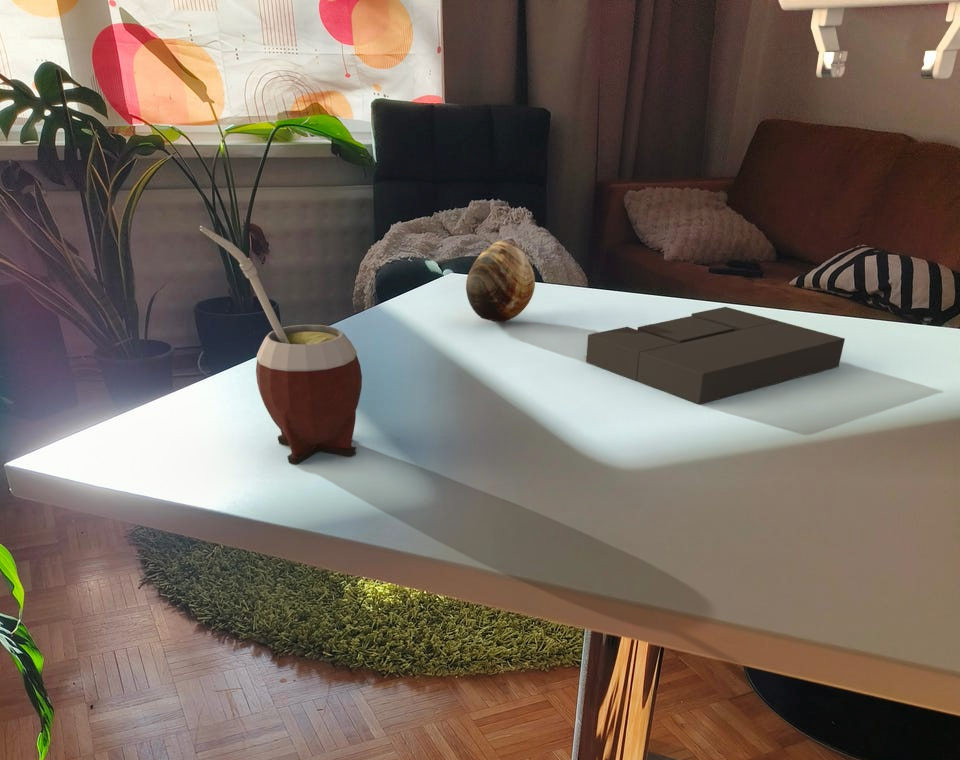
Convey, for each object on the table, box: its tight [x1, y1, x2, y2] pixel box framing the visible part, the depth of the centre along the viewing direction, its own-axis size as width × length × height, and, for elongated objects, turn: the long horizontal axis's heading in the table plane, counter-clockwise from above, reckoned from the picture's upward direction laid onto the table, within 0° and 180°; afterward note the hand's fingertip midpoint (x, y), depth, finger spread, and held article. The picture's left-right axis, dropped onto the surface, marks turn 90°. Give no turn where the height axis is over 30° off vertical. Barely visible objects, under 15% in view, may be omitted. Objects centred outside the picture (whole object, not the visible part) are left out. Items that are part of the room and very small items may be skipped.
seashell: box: [465, 236, 536, 323], centre depth 91 cm, size 10×6×8 cm, turn 143°
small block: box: [636, 315, 734, 343], centre depth 83 cm, size 7×6×2 cm
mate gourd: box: [199, 225, 363, 465], centre depth 59 cm, size 8×8×15 cm
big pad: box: [585, 306, 846, 405], centre depth 80 cm, size 18×14×2 cm
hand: (879, 78), depth 70 cm, fingers open, 8 cm apart
